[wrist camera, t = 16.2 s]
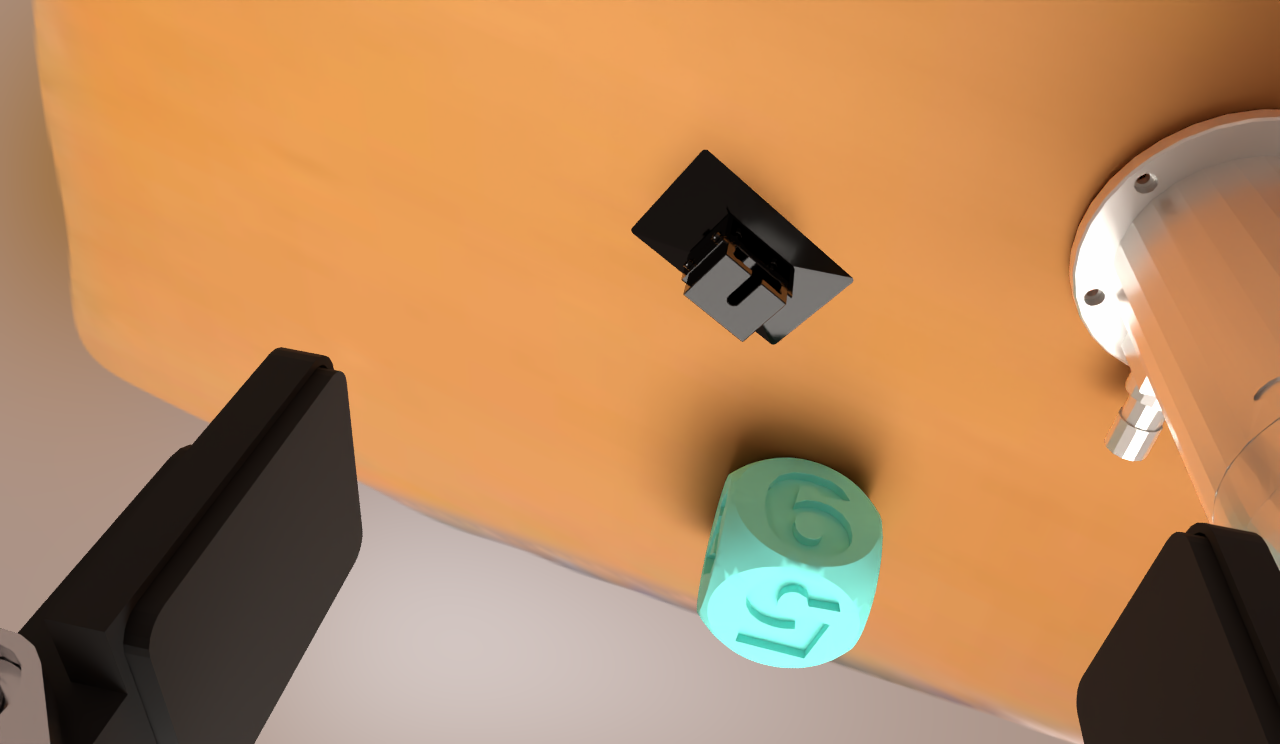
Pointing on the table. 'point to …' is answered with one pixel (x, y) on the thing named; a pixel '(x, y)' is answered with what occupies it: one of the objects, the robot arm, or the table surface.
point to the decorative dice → (790, 563)
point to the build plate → (738, 253)
